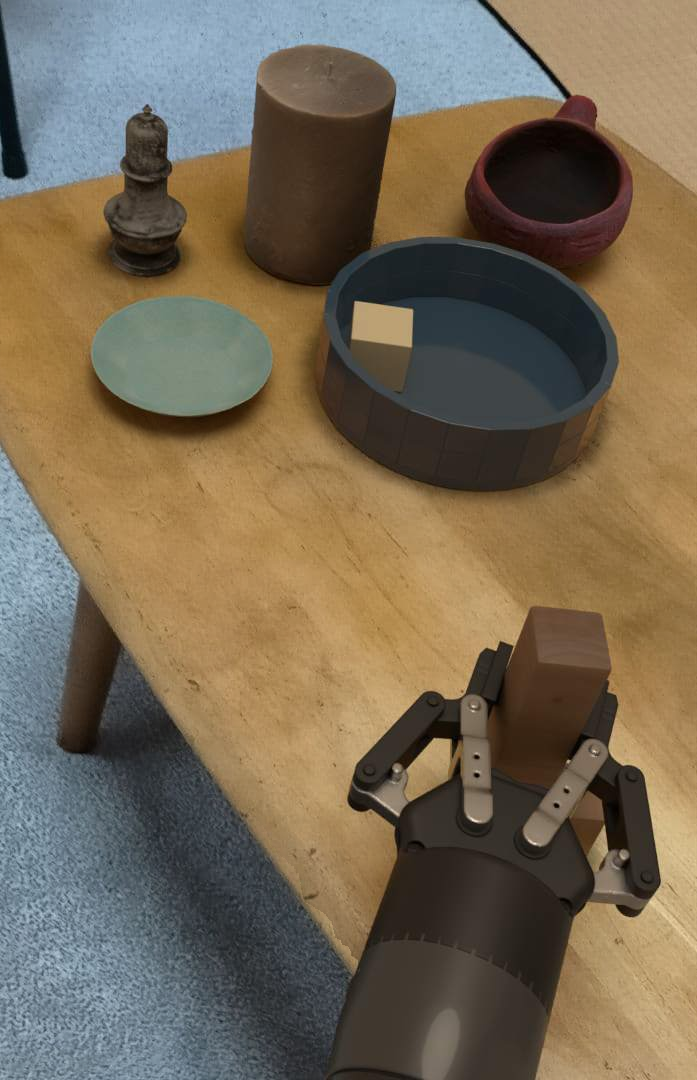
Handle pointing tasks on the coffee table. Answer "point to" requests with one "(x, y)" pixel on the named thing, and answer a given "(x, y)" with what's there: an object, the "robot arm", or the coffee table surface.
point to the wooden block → (551, 703)
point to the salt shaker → (145, 203)
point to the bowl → (551, 188)
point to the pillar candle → (316, 160)
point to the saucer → (181, 356)
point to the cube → (382, 341)
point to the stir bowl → (470, 364)
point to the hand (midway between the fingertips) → (548, 671)
